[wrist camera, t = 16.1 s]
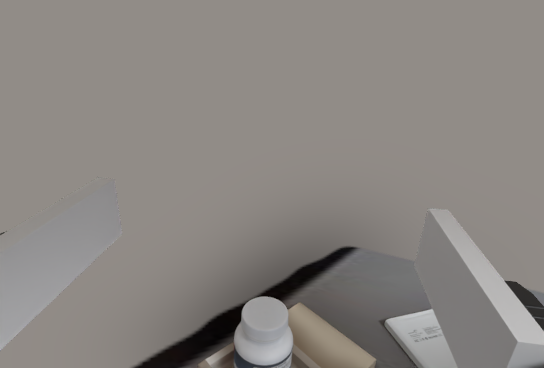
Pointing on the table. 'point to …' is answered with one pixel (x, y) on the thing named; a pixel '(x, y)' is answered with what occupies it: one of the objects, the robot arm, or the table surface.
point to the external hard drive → (422, 339)
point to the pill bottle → (263, 335)
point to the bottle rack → (308, 345)
